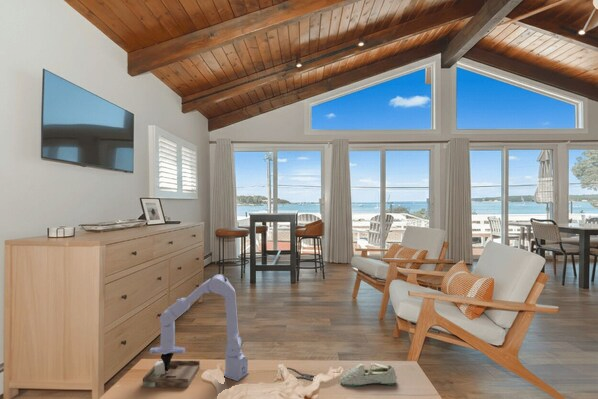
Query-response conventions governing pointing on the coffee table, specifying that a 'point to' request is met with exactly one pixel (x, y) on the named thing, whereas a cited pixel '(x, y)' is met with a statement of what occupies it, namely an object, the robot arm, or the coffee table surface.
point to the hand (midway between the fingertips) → (167, 370)
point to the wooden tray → (173, 375)
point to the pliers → (303, 375)
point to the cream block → (159, 368)
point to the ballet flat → (369, 375)
